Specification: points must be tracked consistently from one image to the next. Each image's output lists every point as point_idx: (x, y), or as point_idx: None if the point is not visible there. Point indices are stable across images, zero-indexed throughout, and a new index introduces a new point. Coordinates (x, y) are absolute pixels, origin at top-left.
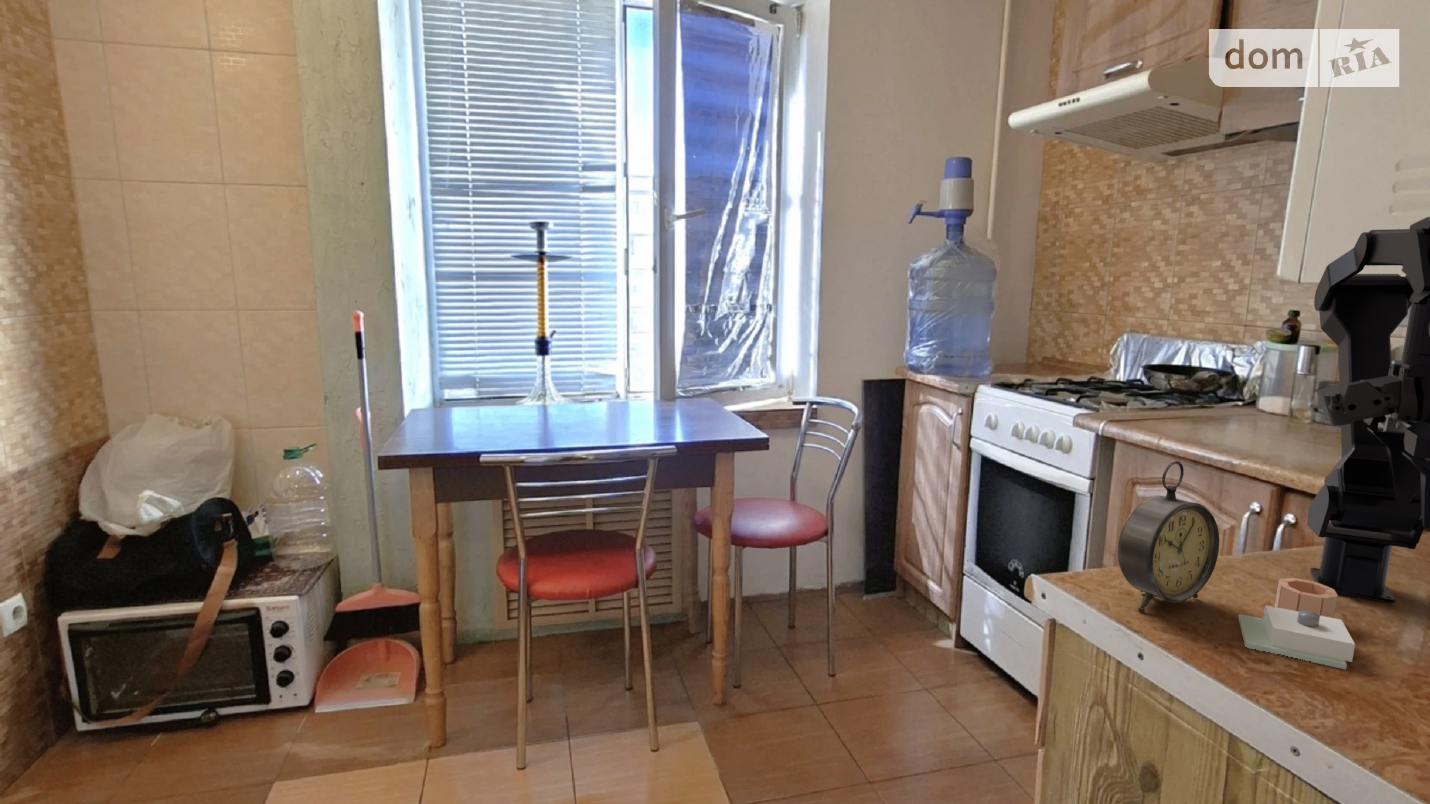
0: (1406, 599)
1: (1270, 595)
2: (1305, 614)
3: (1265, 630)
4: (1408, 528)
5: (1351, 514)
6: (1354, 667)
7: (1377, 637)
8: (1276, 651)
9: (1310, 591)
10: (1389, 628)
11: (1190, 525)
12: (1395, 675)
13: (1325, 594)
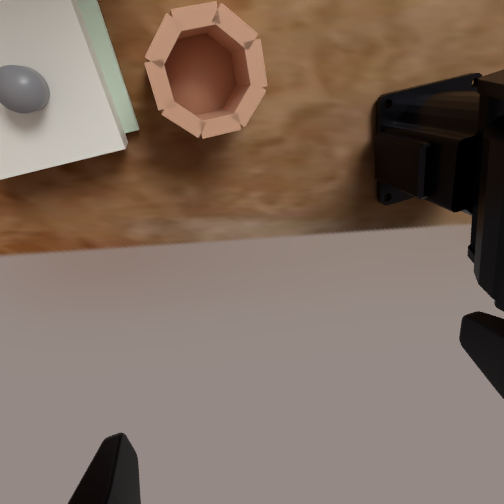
0: (411, 214)
1: (294, 3)
2: (3, 81)
3: None
4: (476, 272)
5: (500, 163)
6: None
7: (208, 192)
8: None
9: (245, 82)
10: (264, 204)
11: None
12: (53, 225)
13: (190, 115)
